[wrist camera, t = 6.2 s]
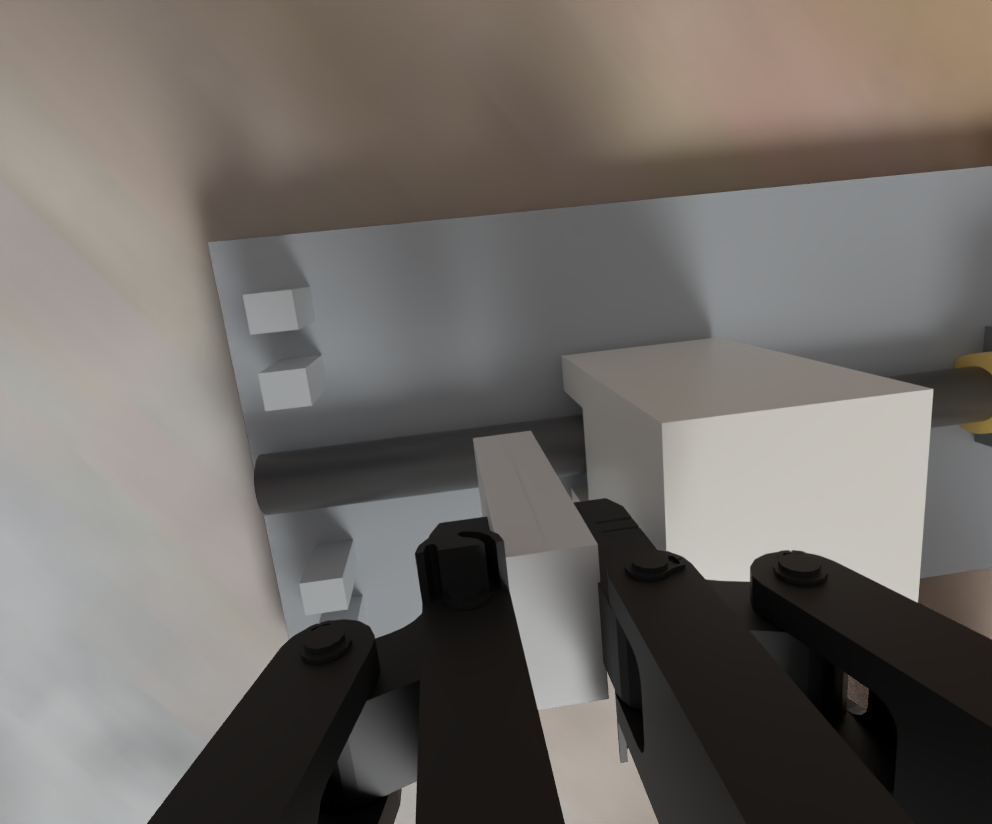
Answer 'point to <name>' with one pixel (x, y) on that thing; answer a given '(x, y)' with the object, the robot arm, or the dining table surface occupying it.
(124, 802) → the dining table surface
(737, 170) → the dining table surface
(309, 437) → the sliding block rail
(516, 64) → the dining table surface
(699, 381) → the cream rail slider block
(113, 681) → the dining table surface
